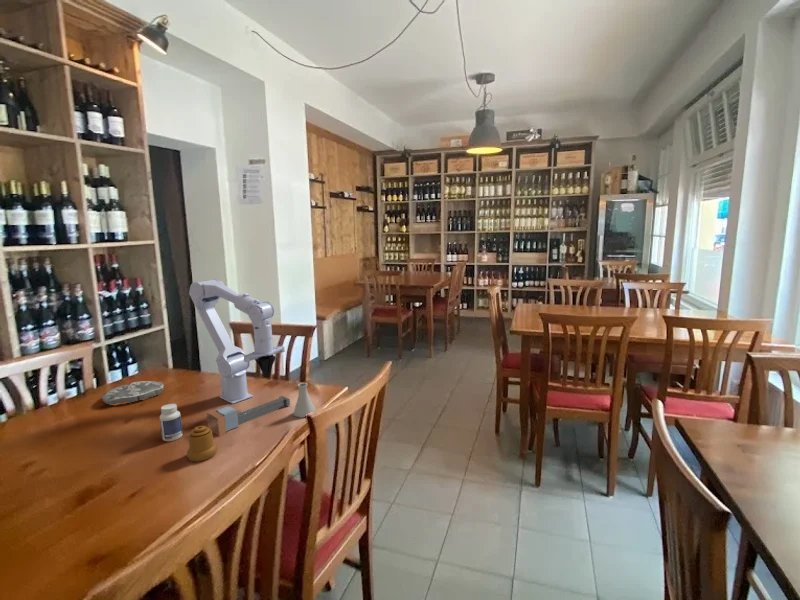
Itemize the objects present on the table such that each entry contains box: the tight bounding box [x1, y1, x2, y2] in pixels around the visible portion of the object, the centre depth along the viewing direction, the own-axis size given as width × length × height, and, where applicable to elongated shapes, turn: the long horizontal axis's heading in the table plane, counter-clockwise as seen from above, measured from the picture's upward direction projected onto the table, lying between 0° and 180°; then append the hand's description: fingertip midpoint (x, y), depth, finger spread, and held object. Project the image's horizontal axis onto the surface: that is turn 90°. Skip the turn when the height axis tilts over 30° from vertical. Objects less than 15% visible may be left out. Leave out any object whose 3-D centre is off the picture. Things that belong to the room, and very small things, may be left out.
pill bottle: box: [159, 403, 184, 442], centre depth 123 cm, size 5×5×10 cm
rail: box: [206, 395, 291, 437], centre depth 135 cm, size 7×26×6 cm, turn 140°
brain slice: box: [100, 380, 165, 406], centre depth 156 cm, size 20×17×3 cm
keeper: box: [215, 405, 239, 432], centre depth 129 cm, size 5×4×5 cm
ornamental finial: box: [186, 425, 218, 462], centre depth 113 cm, size 8×8×8 cm
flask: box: [293, 382, 316, 418], centre depth 137 cm, size 7×7×10 cm
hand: (266, 376), depth 144 cm, fingers closed
